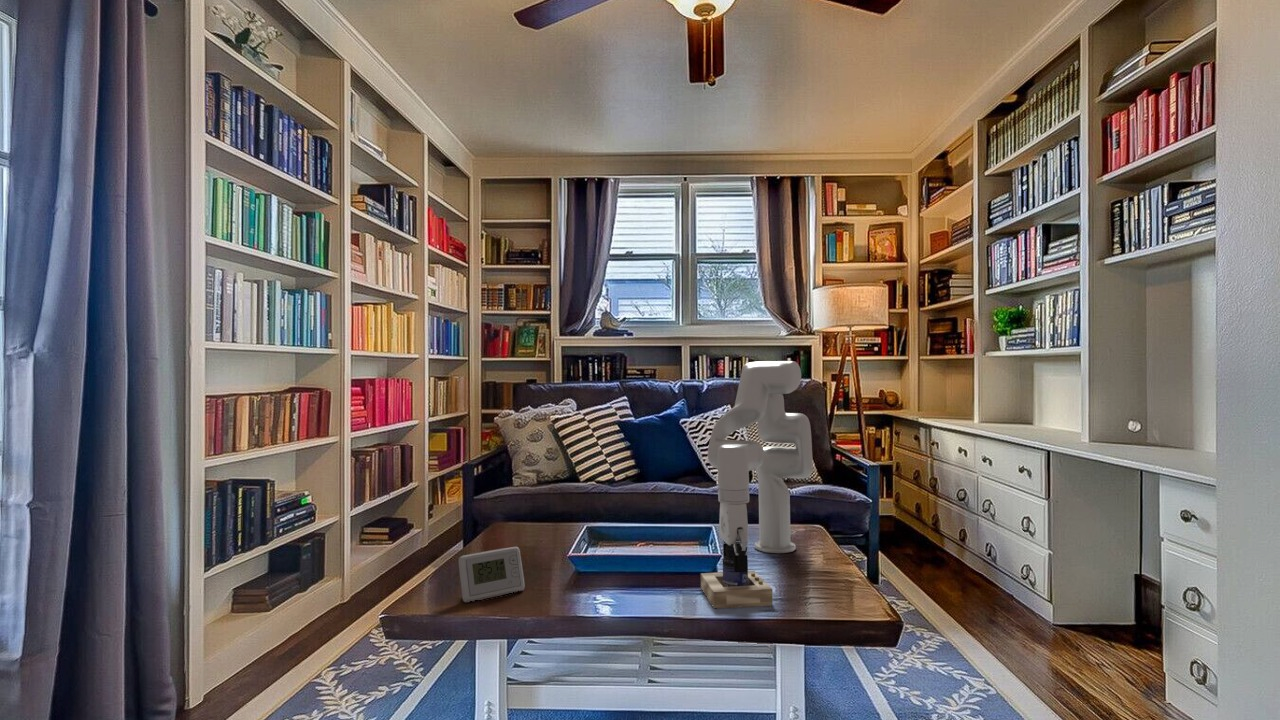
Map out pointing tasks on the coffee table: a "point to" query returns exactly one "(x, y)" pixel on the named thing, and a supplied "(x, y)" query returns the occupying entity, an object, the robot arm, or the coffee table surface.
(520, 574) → the digital clock
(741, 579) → the pill bottle
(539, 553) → the coffee table surface
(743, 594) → the socket block
